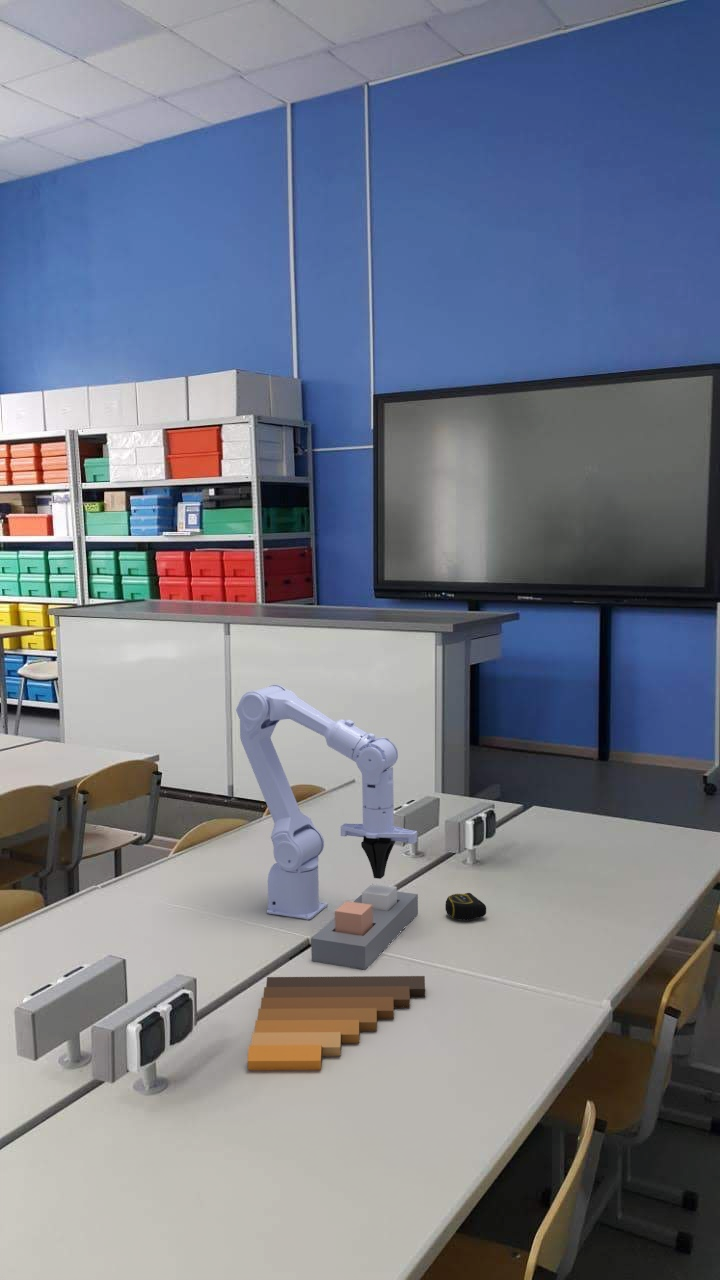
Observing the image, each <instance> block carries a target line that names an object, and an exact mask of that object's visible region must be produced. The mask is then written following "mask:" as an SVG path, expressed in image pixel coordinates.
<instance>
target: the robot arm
mask: <svg viewBox="0 0 720 1280" xmlns="http://www.w3.org/2000/svg"><path fill="white" fill-rule="evenodd" d="M235 710H236V713H237V716H238V719H239V738H240V742H241V744H242V747H243V749H244V752H245V754H246V757H247V759H248V762H249V764H250V766H251V769H252V771H253V774H254V776H255V779H256V781H257V784H258V786H259V789H260V791H261V793H262V797H263V798H264V801H265V803H266V805H267V808H268V811H269V813H270V815H271V817H272V821H273V823H274V824H273V828H272V831H271V835H270V839H271V841H272V845H273V858H274V860H275V862H276V863H273V864H272V866H271V868H270V869H269V872H268V876H267V898H268V899H267V901H268V902H267V903H268V905H267V907H268V909H267V910H266V914H269V915H276V916H284V917H290V918H298V919H303V920H312V918H314V917H315V916H316V915H318V914H319V913H320V912H321V911H322V910H323V909H325V908H327V906H328V903H327V902H322V901H320V893H319V892H320V889H319V856H320V855H321V853H322V852H323V851H324V848H325V840H324V836H323V835H322V833H321V832H320V830H318V828H317V827H316V826H315V825H314V823H313V821H312V819H311V818H310V817H309V816H308V815H306V814H304V813H302V812H301V809H300V807H299V805H298V802H297V800H296V797H295V795H294V793H293V790H292V787H291V785H290V783H289V780H288V778H287V775H286V773H285V770H284V768H283V766H282V763H281V761H280V757H279V756H278V753H277V751H276V748H275V746H274V744H273V741H272V735H273V733H274V731H275V728H276V727H277V724H278V723H279V722H280V721H282V720H292V721H293V722H295V723H297V724H299V725H301V726H303V727H304V728H307V729H309V730H311V731H313V732H314V733H316V734H319V735H321V736H323V737H324V738H325V742H326V745H327V746H328V747H329V748H330V749H332V750H334V751H336V752H338V753H340V754H341V755H343V756H345V757H346V758H348V759H350V760H351V761H353V762H354V763H355V764H356V766H357V768H358V770H359V771H360V773H361V780H362V781H361V787H362V792H361V793H362V823H342V824H341V825H340V836H341V837H347V836H348V837H357V838H358V837H359V838H363V839H362V842H361V848H362V849H363V852H364V853H365V855H366V857H367V860H368V862H369V864H370V867H371V871H372V876H373V879H379V880H382V878H383V877H385V873H386V869H387V864H388V860H389V857H390V854H391V852H392V851H393V847H394V845H395V843H396V842H401V843H408V844H409V845H414V844H416V842H418V831H417V830H411V829H407V828H403V827H400V826H399V827H398V826H395V817H394V816H395V815H394V809H395V807H394V802H395V801H394V768H393V766H394V765H395V764H396V763H397V761H398V757H399V753H398V748H397V747H396V744H394V743H393V742H392V740H390V738H387V737H377V738H376V735H375V734H374V733H372V732H370V733H368V732H367V731H365V730H363V729H362V728H359V727H357V726H356V725H355V722H354V721H353V720H351V719H347V720H345V719H343V718H342V719H338V720H336V721H335V720H333V719H332V718H330V717H329V716H327V715H326V714H324V713H323V712H321V711H319V710H318V709H316V708H314V706H312V705H310V704H309V703H307V702H306V701H304V700H303V699H301V698H299V697H298V696H297V694H295V692H294V691H293V690H290V689H286V688H285V687H284V686H282V685H281V684H271V685H269V686H268V687H267V686H266V687H264V688H259V689H255V690H250V691H246V692H245V693H243V695H242V696H241V698H240V700H239V702H238V705H237V706H236V708H235Z"/></svg>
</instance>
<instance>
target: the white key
mask: <svg viewBox="0 0 720 1280" xmlns="http://www.w3.org/2000/svg"><path fill="white" fill-rule="evenodd" d="M397 892H398V886H393V885H385V884H378V883H376V884H375V883H371V884H370V885H369V886H368V887H367V888H365V889H364V890H363V891H362V892H361V895H362V903H363V904H371V905H372V906H373V909H376V910H383V911H390V910H391V909H392V908H393V907H394V906H395V905H396V904H397Z"/></svg>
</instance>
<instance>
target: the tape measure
mask: <svg viewBox="0 0 720 1280" xmlns="http://www.w3.org/2000/svg"><path fill="white" fill-rule="evenodd" d="M444 905H445V909H444V910H445V912H446V914H447V916H448V917H450V918H452V919H454V920H457V921H472V920H475V919H479V918H481V917H485V916H486V914H487V906H486V904H484V903H483V901H481V900H480V899H478V897H476V896H474V895H473V894H472V893H471V892H467V893H454V894H453V893H452V894H451V895H449V896H448V897H447V898H446V899H445V904H444Z"/></svg>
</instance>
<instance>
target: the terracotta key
mask: <svg viewBox="0 0 720 1280" xmlns="http://www.w3.org/2000/svg"><path fill="white" fill-rule="evenodd" d="M334 918H335V932H340V933H347V934H353V935H360V936H364V935H365V934H366V933H367V932H368V931H369V930H370V929H371V928H372V927H373V906H372V905H371V904H363V903H356V902H354V901H348V900H346V901H345V902H344V903H343V904H342V905H340V906H339V907H338V908H337V909H335V910H334Z"/></svg>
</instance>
